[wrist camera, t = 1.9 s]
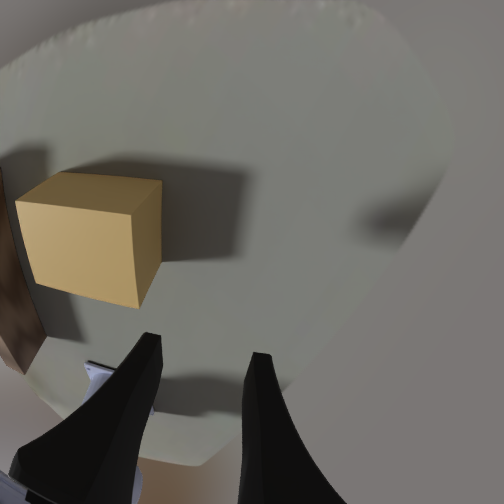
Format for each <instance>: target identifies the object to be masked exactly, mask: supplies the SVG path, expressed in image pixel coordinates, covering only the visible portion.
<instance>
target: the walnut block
mask: <svg viewBox="0 0 504 504" xmlns="http://www.w3.org/2000/svg"><path fill="white" fill-rule="evenodd" d="M46 337H47V336H46V334H45V331H44V329H43V327H42V325H41V322H40V320H39V317H38V315H37V312H36V310H35V307H34V304H33V302H32V299H31V296H30V294H29V291H28V288H27V285H26V282H25V279H24V276H23V273H22V269H21V266H20V263H19V259H18V256H17V252H16V248H15V244H14V240H13V236H12V232H11V228H10V223H9V218H8V213H7V208H6V202H5V196H4V190H3V183H2V175H1V167H0V356H1V358H2V359H3V361H4V362H5V364H6V365H7V366H8V367H10V368H12V369H14V370H16V371H18V372H19V373H21V374H23V375H25V374H26V372H27V370H28V368H29V367H30V365H31V363H32V361H33V359H34V358H35V356H36V354H37V352H38V351H39V349H40V347H41V345H42V344H43V342H44V340H45V339H46Z"/></svg>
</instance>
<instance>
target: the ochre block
mask: <svg viewBox="0 0 504 504" xmlns="http://www.w3.org/2000/svg"><path fill="white" fill-rule="evenodd" d="M15 203H16V208H17V214H18V218H19V223H20V228H21V232H22V236H23V240H24V244H25V248H26V251H27V255H28V259H29V262H30V265H31V269H32V272H33V275H34V278H35V281H36V283H37V284H41V285H44V286H48V287H51V288H55V289H58V290H62V291H65V292H69V293H73V294H77V295H81V296H85V297H89V298H93V299H97V300H101V301H105V302H109V303H114V304H118V305H122V306H127V307H131V308H136V309H140V306H141V304H142V302H143V300H144V298H145V296H146V294H147V291H148V289H149V287H150V285H151V283H152V281H153V279H154V277H155V275H156V273H157V271H158V269H159V266H160V264H161V262H162V252H161V212H162V180H153V179H143V178H133V177H122V176H111V175H98V174H84V173H68V172H58V173H57V174H55V175H53V176H52V177H50V178H49V179H47V180H45V181H44V182H42V183H41V184H39V185H38V186H36V187H34V188H33V189H31V190H30V191H28V192H27V193H26V194H24V195H23V196H21V197H20V198H18V199H17V200H16V201H15Z"/></svg>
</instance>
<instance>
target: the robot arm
mask: <svg viewBox="0 0 504 504" xmlns="http://www.w3.org/2000/svg"><path fill="white" fill-rule="evenodd" d="M84 366H85V368H86V371H87V373H88V375H89V377H90V380H91V383H90V385H89V387H88V390H87V392H86V395H85V397H84V400H83V402H82V405H81V406H80V407H79V408H78V409H77V410H76V411H74V412H73V413H72V414H71V415H70V416H68V417H67V418H66V419H65V420H63V421H62V422H61V423H59V424H58V425H57V426H55V427H54V428H52V429H51V430H49V431H48V432H46V433H45V434H43V435H42V436H40V437H39V438H37V439H35V440H33V441H31V442H30V443H28V444H26V445H24V446H22V447H21V448H19V449H18V451H17V453H16V454H15V456H14V458H13V461H12V464H11V467H10V470H9V473H8V475H9V477H10V478H11V479H10V478H9V477H8V475H6V474H5V473H4V472H2V471H1V470H0V504H137V503H138V500H139V497H140V494H141V490H142V481H143V479H142V473H141V471H140V469H139V467H138V466H137V460H138V454H139V449H140V444H141V439H142V436H143V432H144V429H145V426H146V423H147V420H148V417H149V415H154V409H153V402H154V399H155V396H156V393H157V390H158V387H159V382H160V378H161V373H162V369H163V357H162V343H161V335H157V334H152V333H148V332H145V333H143V335H142V336H141V338H140V339H139V340H138V342H137V343H136V345H135V346H134V347H133V349H132V350H131V351H130V353H129V354H128V355H127V357H126V358H125V359H124V360H123V362H122V363H121V364H120V365H119V366H118V368H117V369H116V370H111V369H108V368H105V367H102V366H98V365H95V364H92V363H89V362H85V363H84ZM12 479H13V480H14V481H13V480H12ZM21 485H22V486H21ZM238 504H347V503H345V501H344V500H343V499H342V498H341V497H340V496H339V495H338V493H337V492H336V491H335V490H334V489H333V487H332V486H331V485H330V484H329V482H328V481H327V479H326V478H325V477H324V475H323V474H322V472H321V471H320V470H319V468H318V467H317V465H316V464H315V462H314V461H313V459H312V457H311V456H310V454H309V452H308V451H307V449H306V447H305V445H304V444H303V442H302V440H301V438H300V436H299V434H298V432H297V430H296V428H295V426H294V424H293V421H292V419H291V417H290V414H289V412H288V409H287V407H286V404H285V402H284V399H283V396H282V393H281V390H280V387H279V384H278V381H277V377H276V374H275V370H274V366H273V362H272V356H271V355H270V354H264V353H257V352H253V355H252V358H251V361H250V364H249V367H248V371H247V374H246V377H245V380H244V388H243V398H242V467H241V477H240V486H239V495H238Z"/></svg>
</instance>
